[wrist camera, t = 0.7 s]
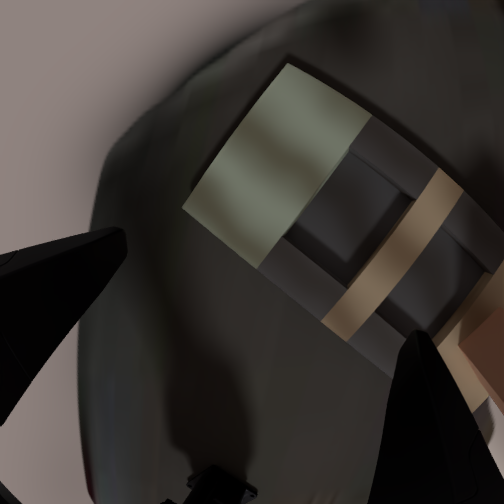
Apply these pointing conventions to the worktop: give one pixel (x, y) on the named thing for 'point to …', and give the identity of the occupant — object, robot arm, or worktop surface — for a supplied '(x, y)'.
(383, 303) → the board
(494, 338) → the brown rectangular block
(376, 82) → the worktop surface
